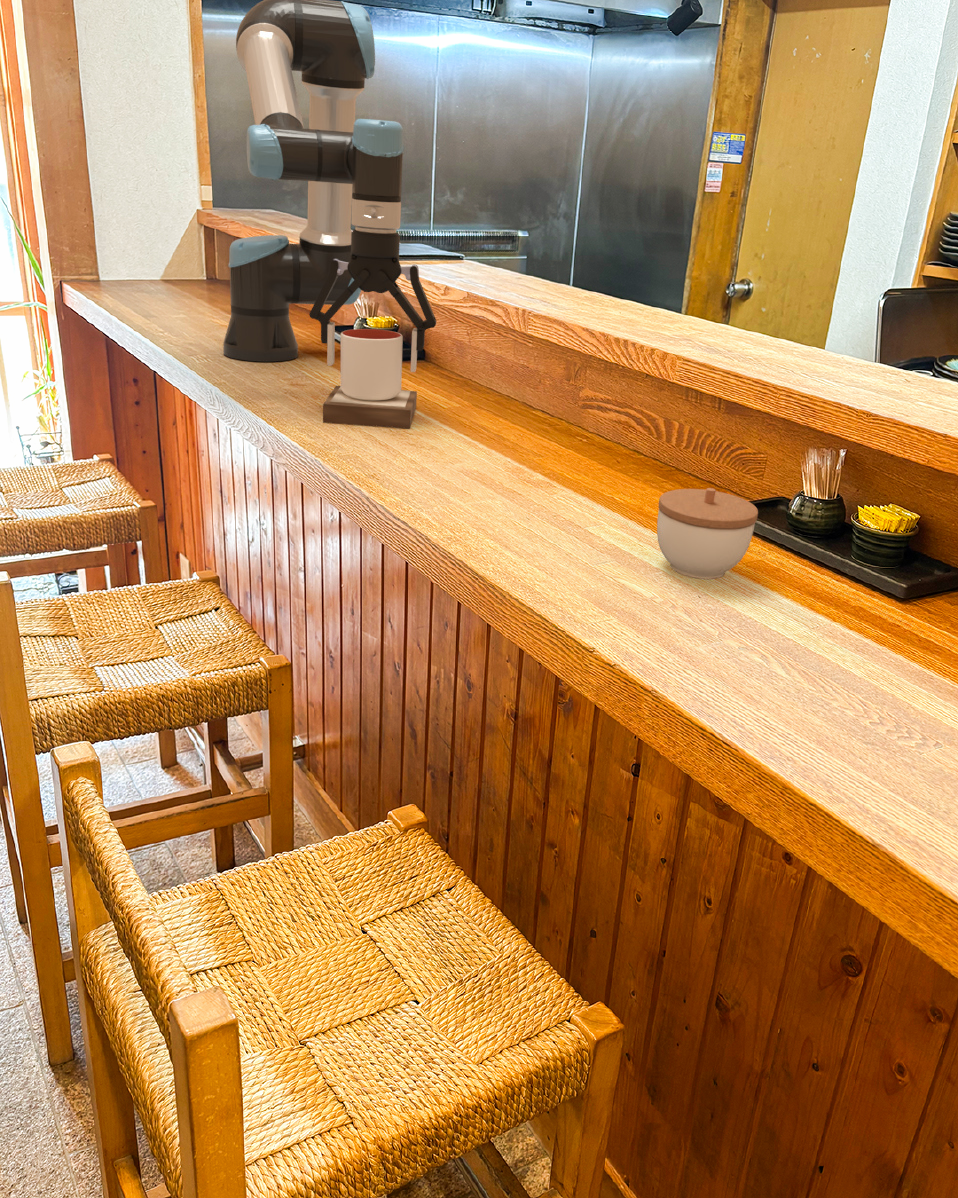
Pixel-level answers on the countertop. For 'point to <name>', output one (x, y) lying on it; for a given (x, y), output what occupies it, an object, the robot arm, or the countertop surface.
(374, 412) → the stand
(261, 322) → the robot arm
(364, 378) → the cup
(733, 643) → the countertop surface
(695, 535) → the lidded jar
